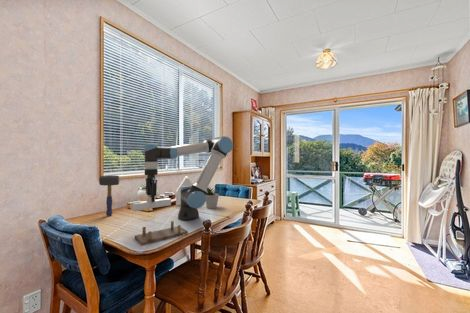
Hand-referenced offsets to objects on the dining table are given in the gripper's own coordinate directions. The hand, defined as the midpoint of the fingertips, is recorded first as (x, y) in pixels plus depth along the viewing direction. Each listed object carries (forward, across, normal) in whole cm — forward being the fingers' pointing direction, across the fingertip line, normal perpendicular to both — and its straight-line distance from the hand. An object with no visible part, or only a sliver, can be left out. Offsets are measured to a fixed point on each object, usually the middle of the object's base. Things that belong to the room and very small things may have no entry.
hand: (151, 206), depth 134 cm
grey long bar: (+1, 0, +1) cm, 1 cm away
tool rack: (+14, +16, +1) cm, 21 cm away
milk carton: (+15, -51, +51) cm, 73 cm away
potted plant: (+15, -23, +60) cm, 65 cm away
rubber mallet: (+14, -48, -14) cm, 52 cm away
